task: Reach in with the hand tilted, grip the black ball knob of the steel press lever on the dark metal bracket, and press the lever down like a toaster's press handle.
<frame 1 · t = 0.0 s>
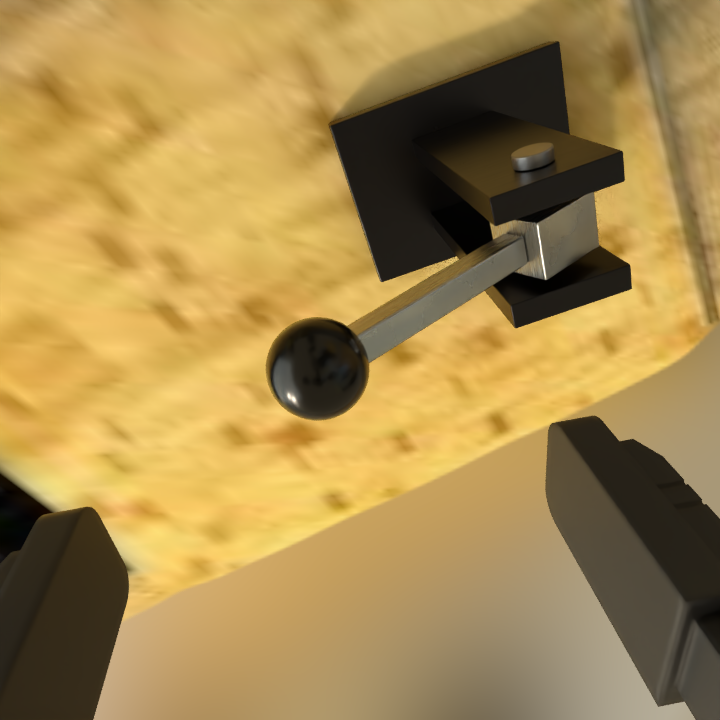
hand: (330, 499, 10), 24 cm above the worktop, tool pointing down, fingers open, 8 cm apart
lever: (438, 295, 19), point 14 cm above the worktop, hinge at 25.0°
bracket: (456, 168, 31), on the worktop
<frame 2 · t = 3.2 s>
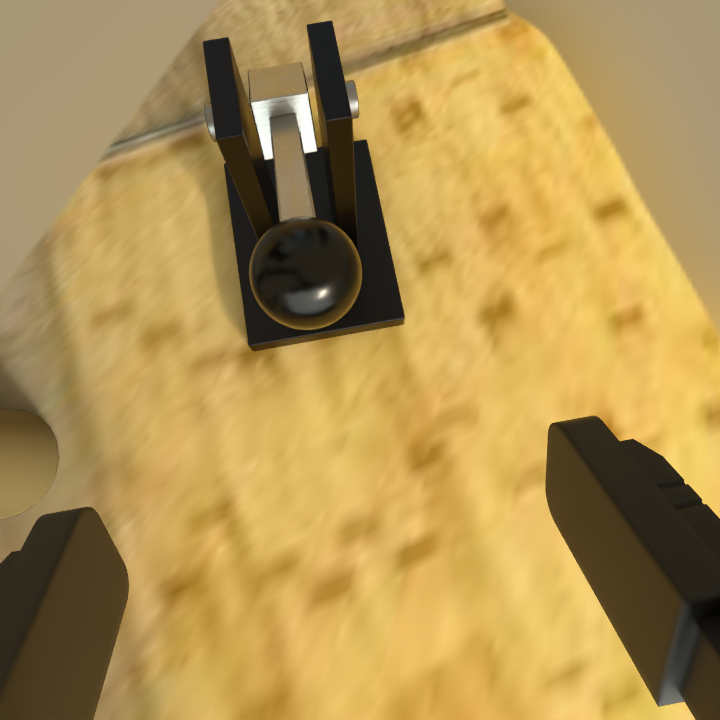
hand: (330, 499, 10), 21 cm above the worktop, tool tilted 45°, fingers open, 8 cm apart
lever: (292, 180, 19), point 14 cm above the worktop, hinge at 25.0°
bracket: (312, 246, 34), on the worktop
cork: (7, 463, 31), on the worktop
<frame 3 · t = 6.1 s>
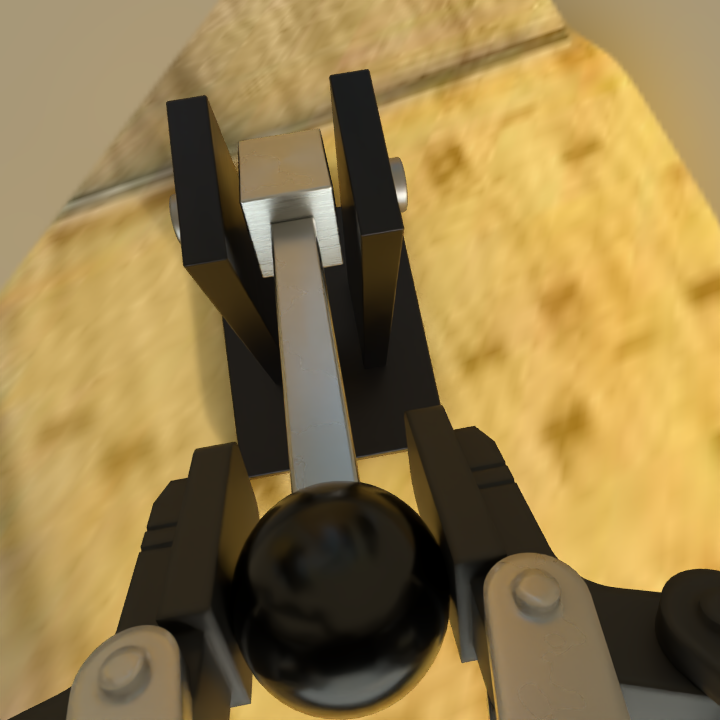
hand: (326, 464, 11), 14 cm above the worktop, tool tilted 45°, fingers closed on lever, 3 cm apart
lever: (309, 346, 11), point 14 cm above the worktop, hinge at 25.0°, touching gripper
bracket: (325, 336, 26), on the worktop
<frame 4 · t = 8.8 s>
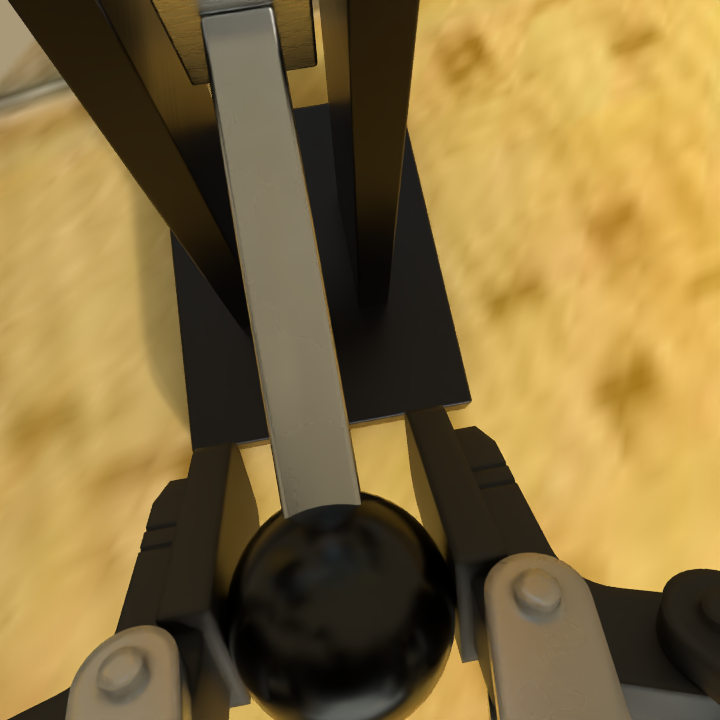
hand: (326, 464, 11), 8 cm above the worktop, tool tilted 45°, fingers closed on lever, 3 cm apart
lever: (283, 269, 8), point 11 cm above the worktop, hinge at -11.4°, touching gripper
bracket: (308, 270, 20), on the worktop
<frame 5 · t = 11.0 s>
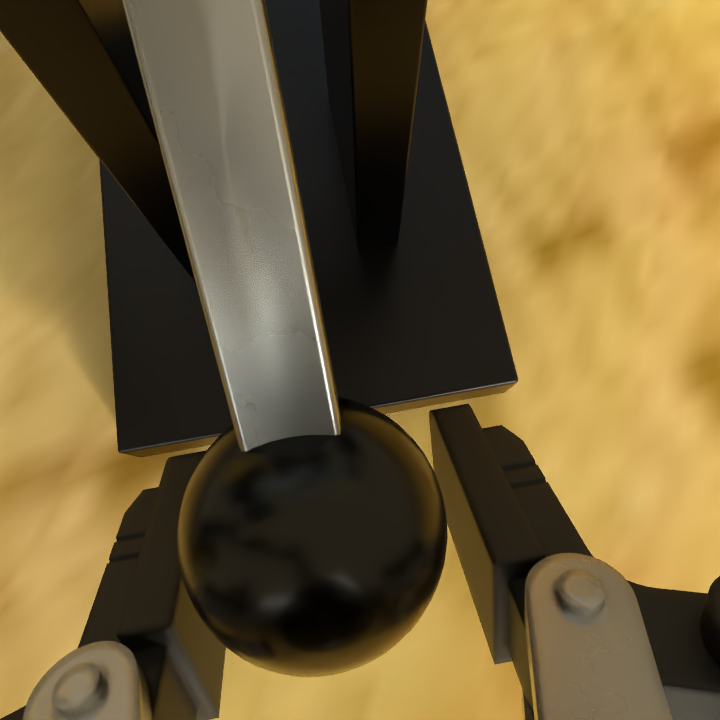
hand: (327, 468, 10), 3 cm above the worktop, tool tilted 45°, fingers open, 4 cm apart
lever: (217, 83, 5), point 9 cm above the worktop, hinge at -35.5°
bracket: (289, 205, 15), on the worktop
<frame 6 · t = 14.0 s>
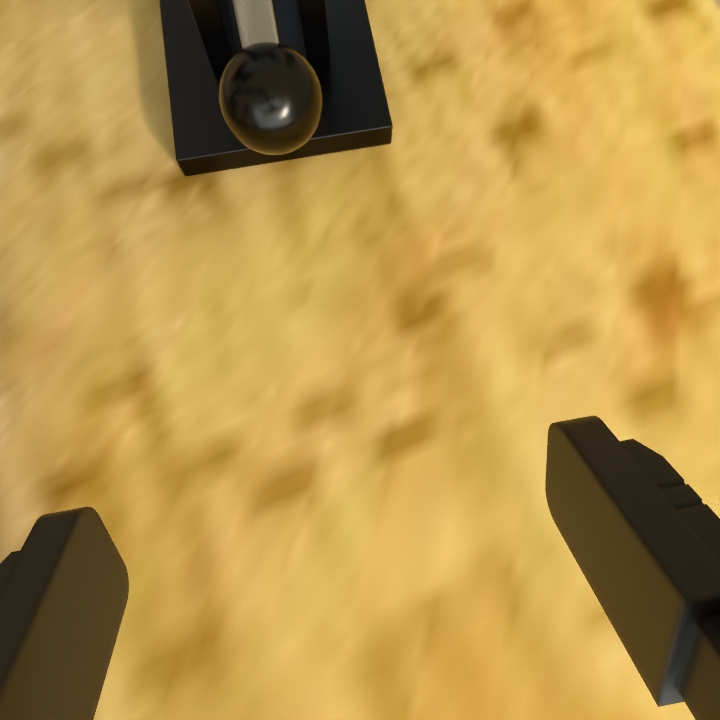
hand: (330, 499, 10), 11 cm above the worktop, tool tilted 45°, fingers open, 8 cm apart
bracket: (270, 47, 25), on the worktop
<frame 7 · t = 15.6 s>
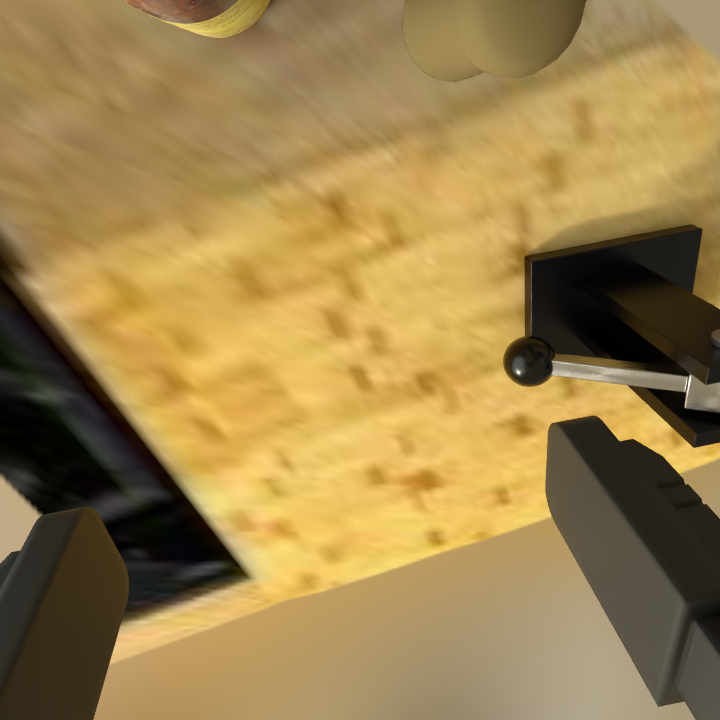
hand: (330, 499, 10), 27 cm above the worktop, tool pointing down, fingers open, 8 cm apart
lever: (614, 371, 32), point 9 cm above the worktop, hinge at -35.5°
bracket: (604, 299, 40), on the worktop
cork: (454, 20, 31), on the worktop
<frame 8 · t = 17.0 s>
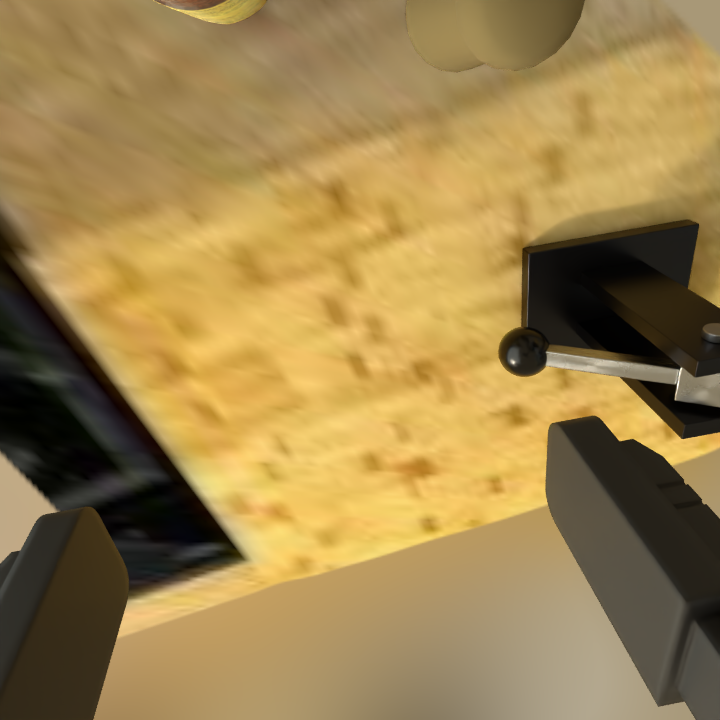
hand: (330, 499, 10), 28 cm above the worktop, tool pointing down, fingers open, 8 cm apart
lever: (607, 363, 33), point 9 cm above the worktop, hinge at -35.5°
bracket: (600, 292, 41), on the worktop
cork: (457, 11, 31), on the worktop
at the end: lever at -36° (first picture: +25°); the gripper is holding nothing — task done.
